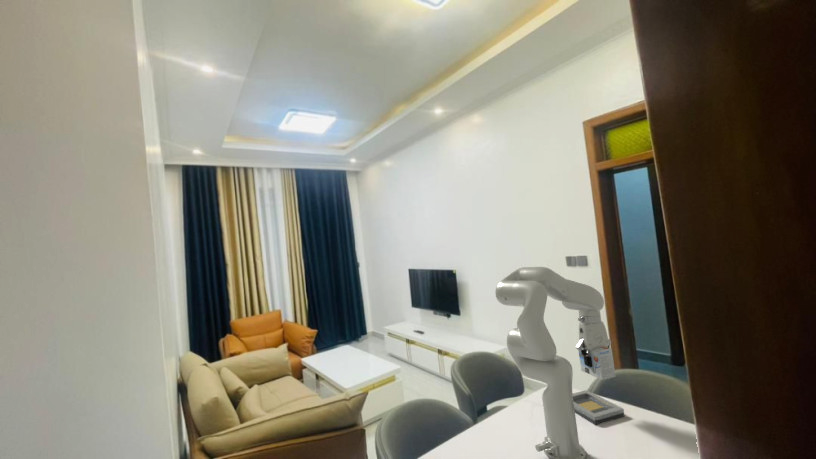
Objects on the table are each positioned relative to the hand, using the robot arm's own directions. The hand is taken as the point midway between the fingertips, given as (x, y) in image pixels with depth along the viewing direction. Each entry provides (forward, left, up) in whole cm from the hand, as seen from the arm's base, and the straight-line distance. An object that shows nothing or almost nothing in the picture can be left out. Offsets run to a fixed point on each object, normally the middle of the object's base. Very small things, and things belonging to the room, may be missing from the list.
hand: (596, 363), depth 125 cm
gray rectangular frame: (-1, +5, -20) cm, 20 cm away
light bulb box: (0, 0, -4) cm, 4 cm away
